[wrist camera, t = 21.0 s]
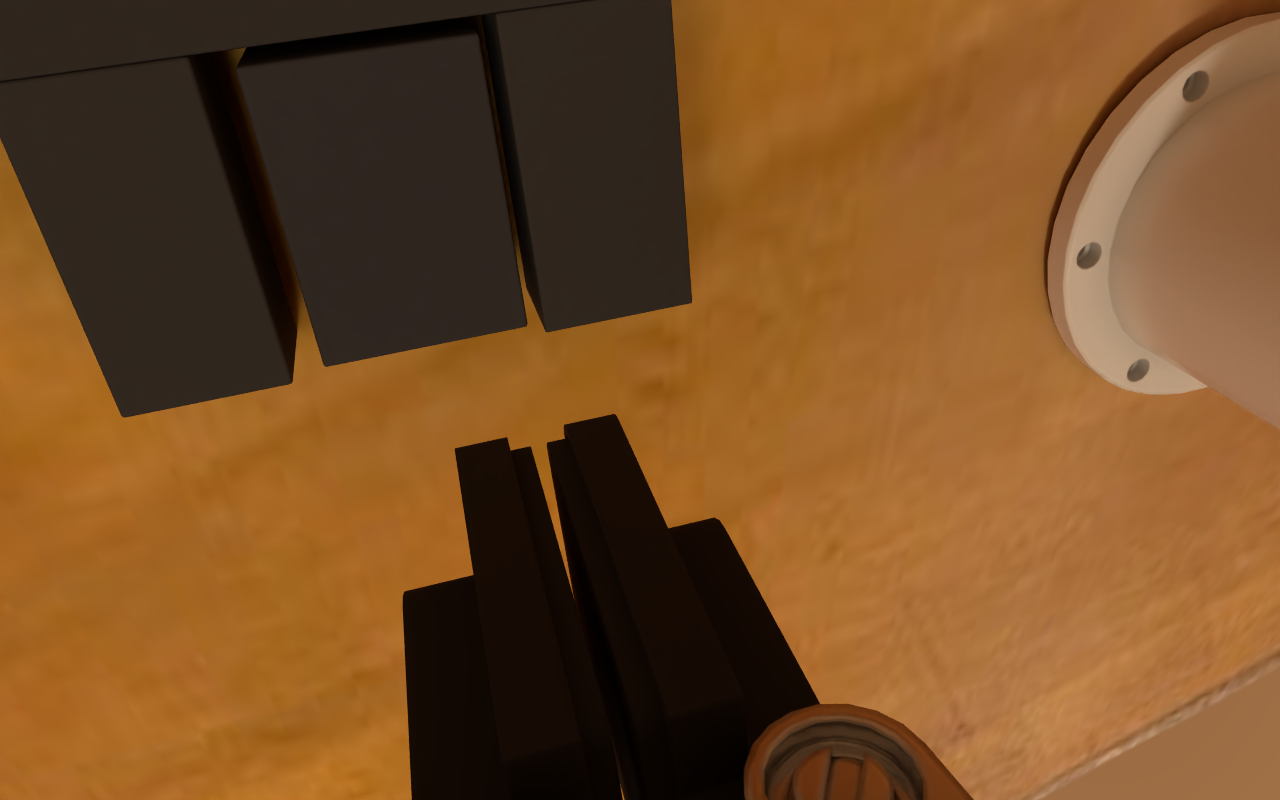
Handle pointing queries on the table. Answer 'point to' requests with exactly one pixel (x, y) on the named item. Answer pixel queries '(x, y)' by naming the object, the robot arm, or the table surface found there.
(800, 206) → the table surface
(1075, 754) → the table surface
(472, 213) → the loose pad
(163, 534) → the table surface
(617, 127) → the base pad
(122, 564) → the table surface
